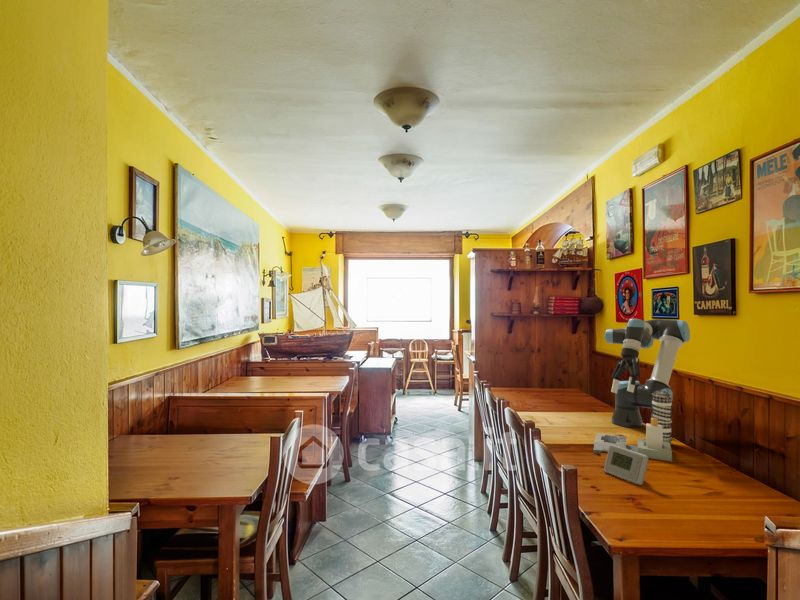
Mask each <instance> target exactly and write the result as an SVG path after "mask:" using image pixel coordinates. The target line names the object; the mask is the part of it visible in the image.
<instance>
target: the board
mask: <svg viewBox="0 0 800 600" xmlns="http://www.w3.org/2000/svg"><path fill="white" fill-rule="evenodd" d="M626 449H629V450H633V451H636V452H638V445H633V444H627V443H626ZM592 451H593V452H592V453H593V454H597V455H598V454H599V455H602V453H603V451H600V450H594V448H593V449H592ZM604 452H606V453H608V452H607V451H604ZM650 459H651V460H654V459H653V458H650ZM657 460H659V461H661V460H660V459H657ZM664 461H666V462H668V461H667V460H664ZM670 462H673V460H672V461H670Z"/></svg>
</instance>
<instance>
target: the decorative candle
mask: <svg viewBox="0 0 800 600" xmlns="http://www.w3.org/2000/svg"><path fill="white" fill-rule="evenodd" d="M652 395H653V400H652V403H651V405H652V406H651V409H650V419H651V418H657V419H658V425H662V427H663V436H662V442H668V443H670V446H671V445H672V442H673V441H672V440H673V439H672V437H673V436H672V435H673V434H672V433H673V432H672V423H673V420H672V419H673V415H674V414H673V413H672V411H674V408H673V407H674V405H673V403H672V402H673V401H672V402H671V397H672V396H671V395H670V394H669V393H668V392H665V391H655V392H654V393H653V394H652ZM672 398H673V397H672Z"/></svg>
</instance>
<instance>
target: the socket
mask: <svg viewBox="0 0 800 600" xmlns="http://www.w3.org/2000/svg"><path fill="white" fill-rule="evenodd" d="M611 444H613V445H616V446H619V447H623V448H626V444H627V436H624V435H622V436H621V435H615V434H610V433H609V434H607V433H601V432H600V433H599V432H596V433H595V437H594V441H593V449H594V450H600V451H602V452H605V451H607V452H606V453H608V450H609V446H610V445H611Z"/></svg>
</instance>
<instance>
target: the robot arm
mask: <svg viewBox="0 0 800 600" xmlns="http://www.w3.org/2000/svg"><path fill="white" fill-rule="evenodd" d="M604 332H605V333H604V339H605V342H606V343H608V344H612V345H613V344H617V345H622V348H621V351H620V357H622V360H621V359H618V360H617V364H616V366H615V368H614V370H613V372H612V374H611V379H613V380H612V384H611V385H612V386H611V391H610V392H611V393H614V394H615V396H614V397H615V405H614V408H615V409H613V410H614V411H613V413H612V415H611V423H612V424H614V425H617V426H620V427H626V428H627V427H628V428H640V427H643V425H644V424H643V419H642V416H641V412H640V407H641V408H643V409H649V410H652V409H651V406H652V405H651V403H652V400H653V395H652V394H653V393H654V392H655V391H665V392H668V393H669V394H670V395H671V396H672V397H671V402H673V396H674V392H673V391H672V390H671V386H670V385H669V382H670V379H671V375H672V373H673V370H674V369H673V368H674V366H675V363H676V359H677V355H678V352H679V349H680V348H682V347H683V346H684V343H688V342H689V341H690V338H691V329H690V326H689V323H688V321H685V320H682V319H681V320H679V319H662V318H661V319H660V318H657V319H649V320H642V319H639V318H630V319H629V320H628V322H627V325H626V327H621V328H618V329H617V328H615V329H614V328H608V329H606V330H605V331H604ZM654 340H656V341H657V340H659V342H660V347H659V349H658V352H657V355H656V359H655V363H654V365H653V369H652V373H651V375H650V378H649V379H646V381H645V383H644V384H641V383H640V381H639V380H637V379H638V378H640V377H641V369H640V358H639V354H640V350H641V348H642V349H645V350H646V349H650V348H652V346H653V345H654V342H655V341H654ZM627 370H628V371H629V374H630V375H629V378H628V380H620V379H621V377H622V376H623V374H624V373H625V371H627Z"/></svg>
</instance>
